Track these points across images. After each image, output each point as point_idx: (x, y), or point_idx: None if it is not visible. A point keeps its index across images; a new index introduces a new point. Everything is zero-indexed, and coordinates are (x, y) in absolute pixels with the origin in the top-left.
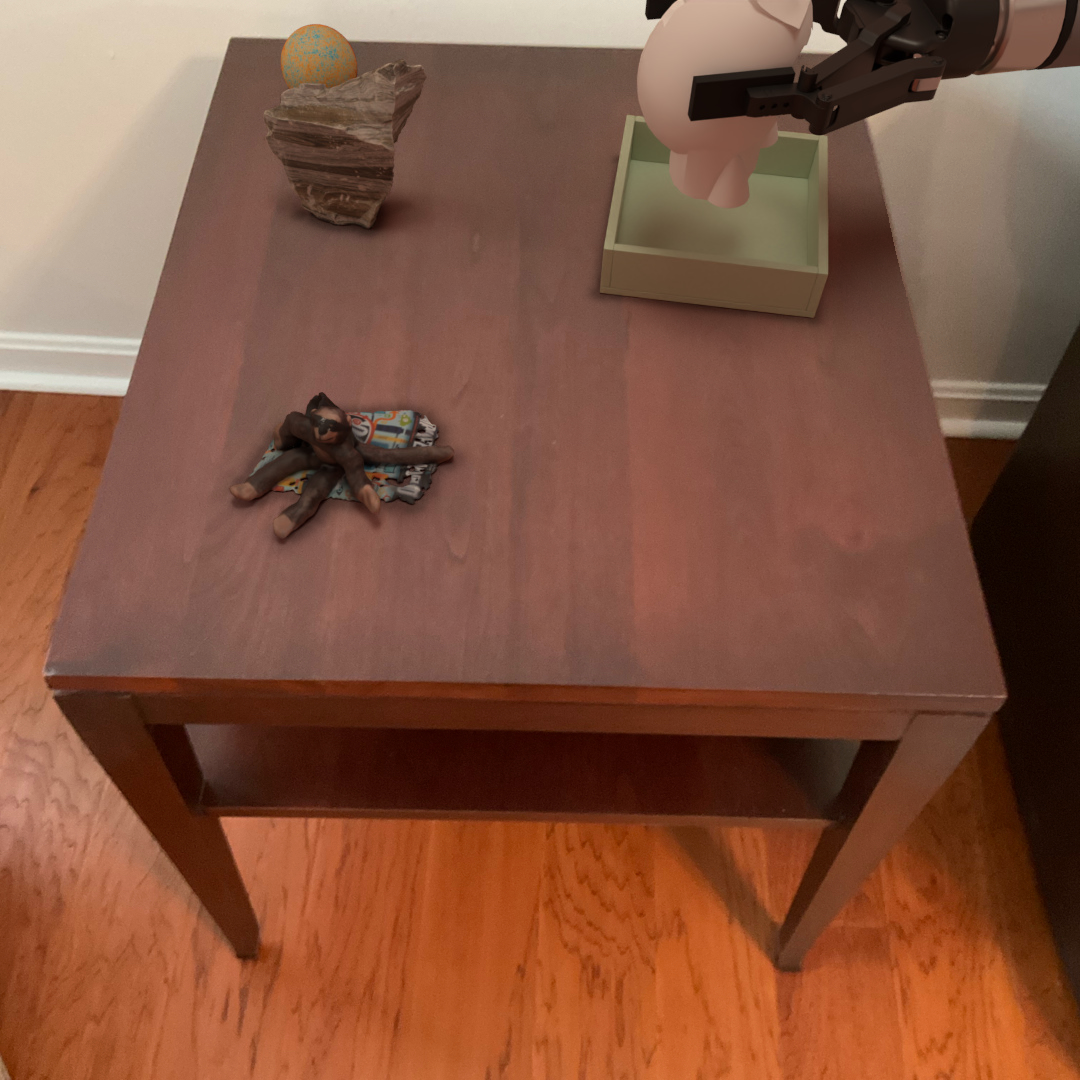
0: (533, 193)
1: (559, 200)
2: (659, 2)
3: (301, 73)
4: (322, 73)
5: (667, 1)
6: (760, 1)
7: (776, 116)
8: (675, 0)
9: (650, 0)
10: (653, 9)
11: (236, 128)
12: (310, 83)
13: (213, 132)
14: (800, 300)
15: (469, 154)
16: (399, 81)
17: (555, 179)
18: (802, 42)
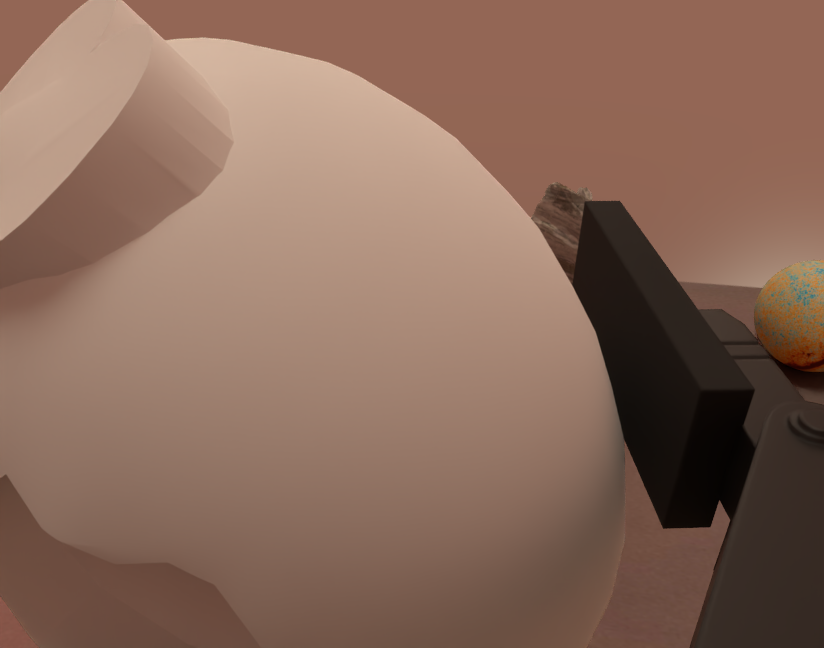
0: (623, 593)
1: (607, 636)
2: (581, 280)
3: (764, 287)
4: (772, 301)
5: (591, 294)
6: (3, 95)
7: (29, 635)
8: (596, 306)
9: (577, 258)
10: (576, 291)
11: (703, 297)
12: (590, 194)
13: (689, 283)
14: None
15: (719, 508)
16: (548, 210)
17: (676, 637)
18: None
